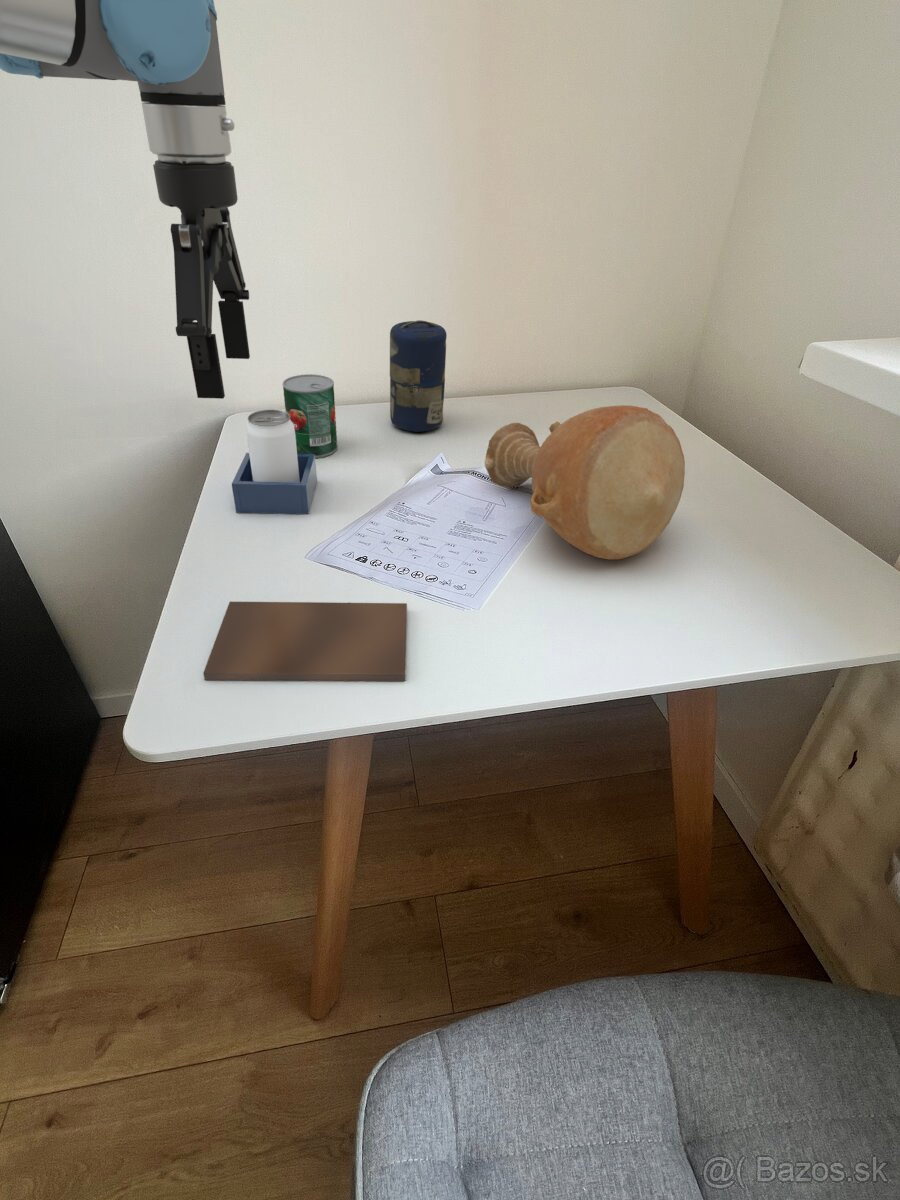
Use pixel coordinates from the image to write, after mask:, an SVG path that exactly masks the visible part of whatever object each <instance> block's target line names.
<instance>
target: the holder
mask: <svg viewBox="0 0 900 1200" xmlns="http://www.w3.org/2000/svg"><path fill="white" fill-rule="evenodd" d="M297 458H298V469H299V480H300V482H253V477H252V470H251V463H250V456H249V452H245V454H244V456H243V459H242V461H241V463H240V465H239V467H238V469H237V471H236V473H235V475H234V478H233V480H232V482H231V489H232V494H233V496H232V497H233V501H234V508H235V513H236V514H275V515H276V514H278V515H279V514H280V515H281V514H282V515H283V514H285V515H309V514H310V511H311V507H312V502H313V499H314V495H315V492H316V487H317V483H318V476H317V462H316V458H315V454H310V455H309V454H297Z"/></svg>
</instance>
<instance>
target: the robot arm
mask: <svg viewBox="0 0 900 1200" xmlns="http://www.w3.org/2000/svg"><path fill="white" fill-rule="evenodd" d="M217 14H218V13H217V10H216V6H215V0H0V70H1V71H2V72H5V73H7V74H12V75H21V76H30V77H31V76H32V77H35V78H38V79H40V80H41V79H44V77H49V78H65V79H85V80H106V81H107V80H108V81H128V82H137V86H138V91H139V96H140V101H141V108H142V113H143V114H142V115H143V119H144V125H145V130H146V136H147V142H148V147H149V151H150V152H151V153H152V154H153V155H156V157H157V160H155V161H154V163H153V165H152V166H153V167H152V168H153V173H154V178H155V183H156V189H157V194H158V195H157V196H158V199H159V202H160V203H162V204H163V205H165V206H166V207H171V208H177V209H178V210H179V211H180V213H181V214H180V221H181V223H170V224H171V225H170V228H169V229H170V234H171V241H172V248H173V262H174V263H173V264H174V265H173V266H174V287H175V309H176V310H175V311H176V326H175V333H176V336H177V337H186V340H187V345H188V346H187V347H188V351H189V352H188V353H189V357H190V363H191V368H192V374H193V379H194V385H195V391H196V396H197V399H218V400H219V399H222V400H223V399H224V398H225V397H226V395H225V389H224V387H225V386H224V380H223V373H222V367H221V361H220V355H219V349H218V341H217V337H216V333H213V330H212V326H213V301H214V300H213V297H214V285H215V288H216V290H217V292H218V296H219V298H220V300H218V301H217V304H218V312H219V318H220V325H221V332H222V338H223V345H224V353H225V358H226V359H233V360H237V359H238V360H249V359H251V355H250V346H249V339H248V330H247V323H246V315H245V308H244V301H248V300H250V291H249V289H246V287H247V285H246V282H245V277H244V274H243V270H242V266H241V261H240V257H239V252H238V250H237V249H238V248H237V245H236V241H235V237H234V232H233V229H232V228H233V227H232V223H231V217H230V210H229V208H231V207H233V206H235V205H236V204H237V203H238V199H239V198H238V190H237V183H236V182H237V181H236V174H235V173H236V172H235V166H234V165H232V162H230V161H227V159H226V157H228V156H230V155H231V154H232V145H231V137H230V132H233V131H234V129H235V123H234V121H233V119H231V118H229V117H228V118H227V113H228V112H227V108H226V103H227V102H226V98H225V95H226V93H225V85H224V78H223V69H222V61H221V51H220V42H219V34H218V26H217V21H218V15H217ZM242 300H244V301H242Z"/></svg>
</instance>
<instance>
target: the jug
mask: <svg viewBox="0 0 900 1200" xmlns="http://www.w3.org/2000/svg"><path fill="white" fill-rule="evenodd" d="M548 430H549V431H550V434H549V435H548V436H547V437H546V438H545V440H543V442H542V444H541V445H540V443H539V440H538V438H537V436H536V433H535V432H534V431H533V429H531V427H529V426H527V425H525V424H523V423H520V422H511V423H509V424H506V425H504V426H502V427H500V428H498V429H497V430H495V432H494V433H493V435H492V436H491V438H489V440H488V446H487V449H486V453H485V458H484V459H485V460H484V468H485V470H486V471H487V475H488V476H489V479H490V480H491V481H492V483H494V484H495V485H498V486H500V487H504V488H514V487H517V486H521V485H522V484H524V483H526V481H528V480H529V479H530V478H531V489H532V496H531V499H530V510H531V512H532V513H533V514H534V515H535V516H537V517H541V518H543V520H544V521H545V523H547V525H548V526H549V527H550V528H551V529H552V530H553V532H555V533H557V535H558V536H559V537H561V538H562V539H563V540H564V541H566V542H567V543H568V544H570V545H571V546H573V547H574V548H576V549H577V550H579V551H581V552H582V553H583V552H584V553H585V554H587V555H590V556H592V557H595V558H598V559H604V560H623V559H626V558H628V557H631V556H632V557H633V556H635V555H637V554H639V553H641V552H642V551H644V550H645V549H647V548H648V547H650V546H651V545H652V544H653V543H654V542H655V541H656V540H657V539H658V538H659V536H660V535H662V533H663V532H664V531H665V529H666V528H667V526H668V525H669V524H670V522H671V520H672V518H673V516H674V514H675V513H676V511H677V508H678V506H679V503H680V501H681V497H682V494H683V492H684V488H685V487H684V486H685V476H686V475H685V474H686V461H685V455H684V452H683V449H682V448H683V447H682V445H681V441H680V439H679V437H678V436H677V434H676V432H675V430H674V428H673V427H672V426H671V425H670V424H668V423H667V422H666V421H665V419H664V418H663V417H662V416H661V415H660V414H659V413H656V412H654V411H651V410H649V408H647V407H641V406H637V405H622V404H621V405H620V404H619V405H608V406H600V407H595V408H592V409H588V410H586V411H583V412H580V413H578V414H576V415H574V416H572V417H569V418H568V419H566V420H565V421H563V422H562V423H560V422H559V421H555V422H553V423H552V424H551V425H550V426H549V428H548Z"/></svg>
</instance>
